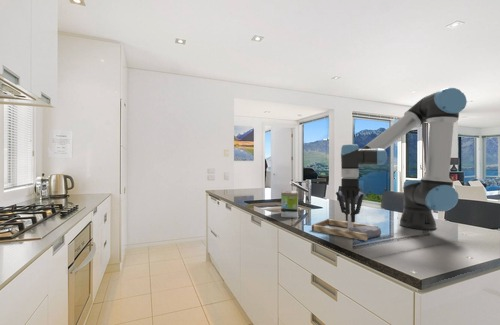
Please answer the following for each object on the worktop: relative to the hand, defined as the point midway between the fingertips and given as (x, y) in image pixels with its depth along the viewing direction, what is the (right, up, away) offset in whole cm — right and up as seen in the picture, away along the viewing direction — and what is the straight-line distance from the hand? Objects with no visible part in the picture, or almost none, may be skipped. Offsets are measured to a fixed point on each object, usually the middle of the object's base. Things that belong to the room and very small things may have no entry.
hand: (350, 228), depth 115 cm
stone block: (+4, -2, -5) cm, 6 cm away
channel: (-2, -2, +1) cm, 3 cm away
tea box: (-22, -2, +39) cm, 45 cm away
